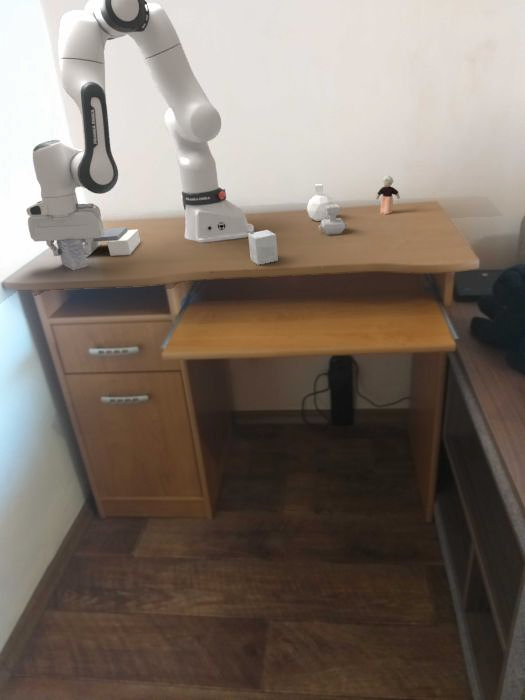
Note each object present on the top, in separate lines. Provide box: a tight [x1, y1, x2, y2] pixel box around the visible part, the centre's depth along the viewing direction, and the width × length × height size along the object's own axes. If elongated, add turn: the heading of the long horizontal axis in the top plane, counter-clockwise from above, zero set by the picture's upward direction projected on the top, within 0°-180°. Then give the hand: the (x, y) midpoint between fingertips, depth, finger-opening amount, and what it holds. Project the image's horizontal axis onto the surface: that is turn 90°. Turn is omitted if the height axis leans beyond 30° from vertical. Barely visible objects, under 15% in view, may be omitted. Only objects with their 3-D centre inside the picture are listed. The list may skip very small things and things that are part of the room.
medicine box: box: [55, 239, 88, 271], centre depth 149 cm, size 8×4×9 cm, turn 41°
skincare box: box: [247, 229, 279, 266], centre depth 141 cm, size 6×6×7 cm
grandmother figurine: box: [375, 175, 401, 215], centre depth 172 cm, size 8×4×13 cm, turn 81°
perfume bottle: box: [306, 183, 334, 222], centre depth 171 cm, size 9×9×12 cm
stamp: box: [317, 203, 348, 236], centre depth 159 cm, size 9×7×8 cm
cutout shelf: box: [81, 226, 141, 258], centre depth 161 cm, size 19×12×6 cm, turn 87°
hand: (73, 254), depth 149 cm, fingers open, 8 cm apart
